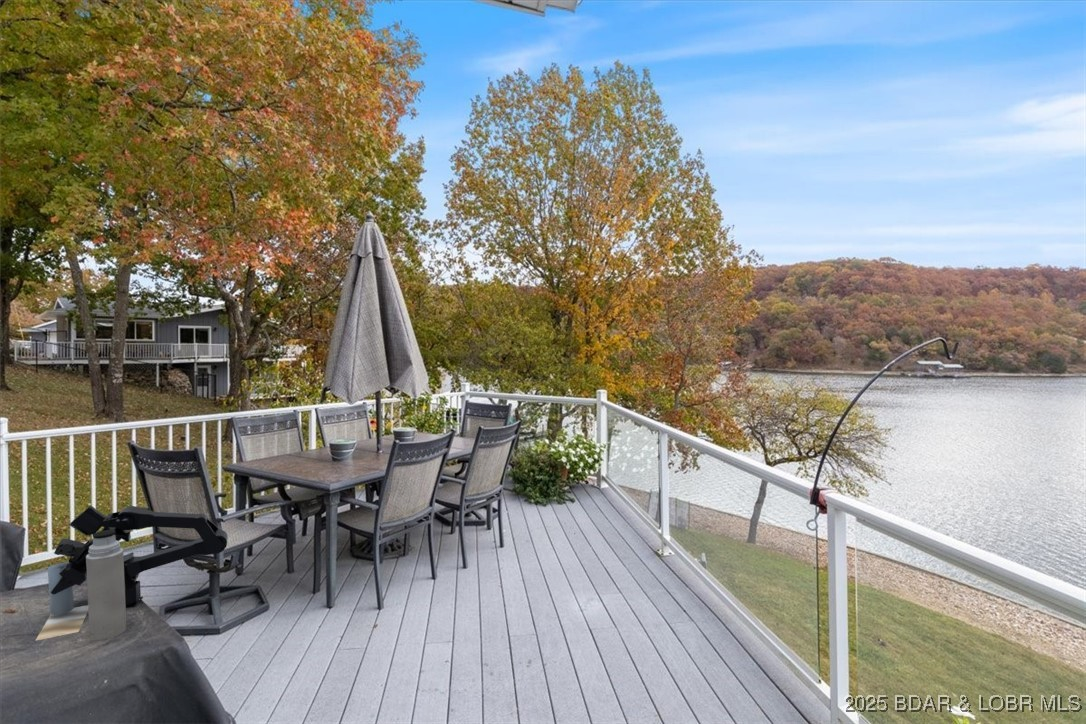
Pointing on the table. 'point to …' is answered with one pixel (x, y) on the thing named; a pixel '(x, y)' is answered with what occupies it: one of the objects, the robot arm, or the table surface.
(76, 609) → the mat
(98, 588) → the thermos bottle
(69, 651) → the table surface
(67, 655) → the table surface
